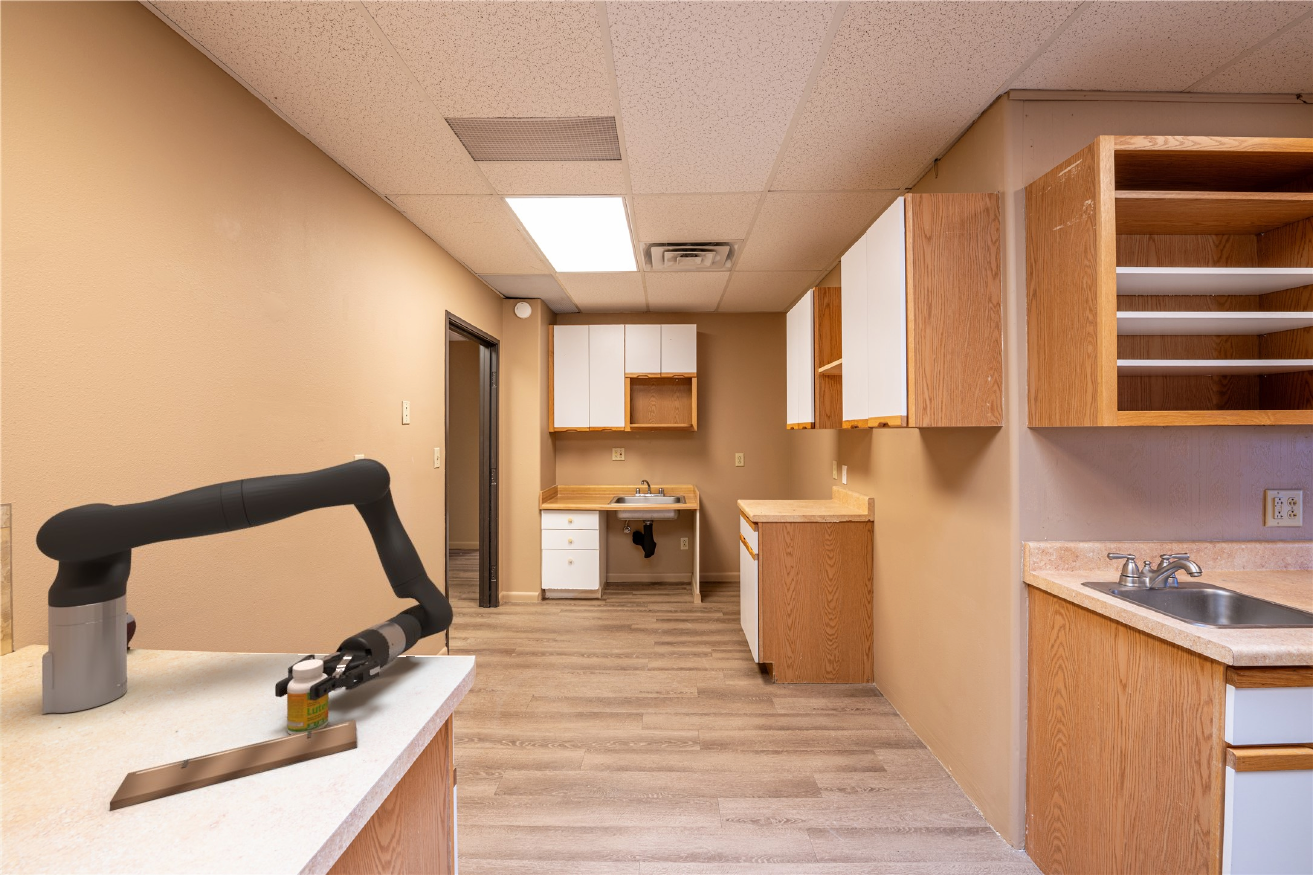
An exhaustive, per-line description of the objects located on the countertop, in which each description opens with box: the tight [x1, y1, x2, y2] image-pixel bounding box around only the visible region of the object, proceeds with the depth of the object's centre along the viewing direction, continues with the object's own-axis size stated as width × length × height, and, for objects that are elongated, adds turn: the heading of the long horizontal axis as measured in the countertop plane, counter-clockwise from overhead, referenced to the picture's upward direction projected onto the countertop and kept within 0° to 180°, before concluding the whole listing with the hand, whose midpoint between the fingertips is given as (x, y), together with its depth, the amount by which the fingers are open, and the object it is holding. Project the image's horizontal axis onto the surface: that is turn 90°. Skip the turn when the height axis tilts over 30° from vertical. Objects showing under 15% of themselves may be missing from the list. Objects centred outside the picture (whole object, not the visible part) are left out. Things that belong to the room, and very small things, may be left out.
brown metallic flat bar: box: [109, 719, 358, 811], centre depth 74 cm, size 26×6×1 cm, turn 120°
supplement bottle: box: [286, 658, 330, 735], centre depth 84 cm, size 5×5×10 cm
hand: (294, 692), depth 81 cm, fingers closed on supplement bottle, 5 cm apart
